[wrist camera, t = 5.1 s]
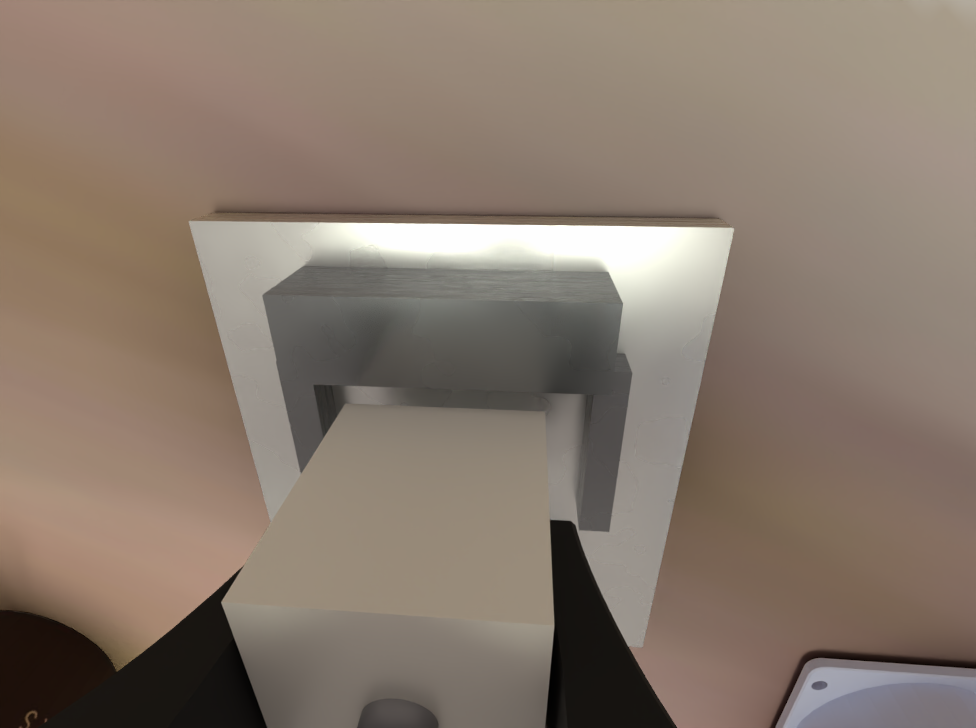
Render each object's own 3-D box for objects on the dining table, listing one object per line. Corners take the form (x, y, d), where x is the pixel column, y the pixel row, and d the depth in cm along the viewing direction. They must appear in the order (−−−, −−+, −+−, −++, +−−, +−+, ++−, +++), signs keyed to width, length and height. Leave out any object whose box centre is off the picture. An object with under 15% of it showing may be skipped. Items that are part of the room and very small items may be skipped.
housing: (535, 573, 13) (536, 835, 8) (370, 562, 13) (282, 810, 9) (545, 411, 11) (555, 648, 6) (345, 403, 11) (207, 622, 6)
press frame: (636, 620, 18) (655, 711, 15) (309, 598, 19) (272, 680, 16) (718, 218, 11) (775, 252, 9) (213, 212, 12) (125, 242, 10)
